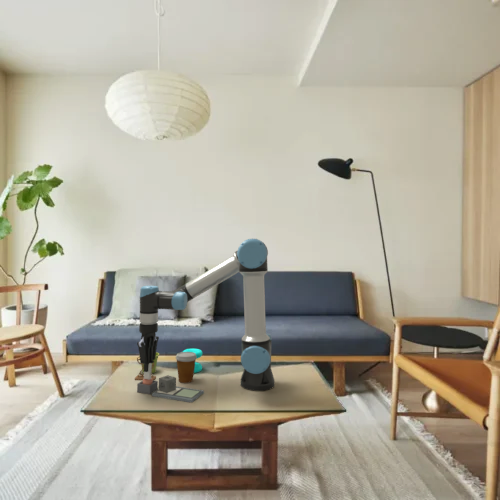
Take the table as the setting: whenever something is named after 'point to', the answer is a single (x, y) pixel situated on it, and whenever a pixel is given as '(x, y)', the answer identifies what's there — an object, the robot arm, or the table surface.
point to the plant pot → (152, 364)
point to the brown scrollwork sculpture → (143, 374)
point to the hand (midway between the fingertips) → (147, 378)
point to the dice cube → (167, 384)
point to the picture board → (180, 394)
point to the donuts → (198, 353)
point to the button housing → (147, 387)
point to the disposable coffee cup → (186, 366)
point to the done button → (147, 381)
